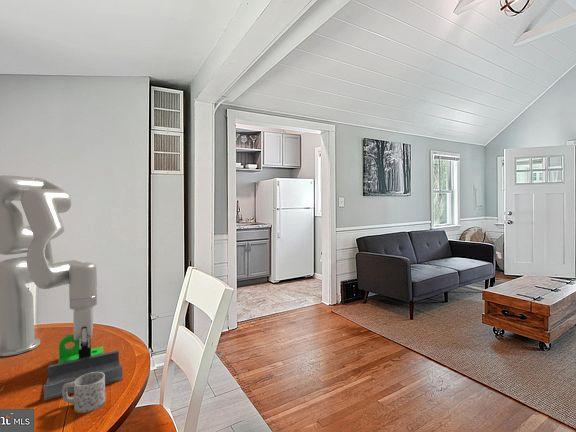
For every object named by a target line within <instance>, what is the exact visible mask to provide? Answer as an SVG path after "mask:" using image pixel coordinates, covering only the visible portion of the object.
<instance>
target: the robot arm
mask: <svg viewBox="0 0 576 432" xmlns="http://www.w3.org/2000/svg"><path fill="white" fill-rule="evenodd" d="M13 201H16V202H19V201H20V204H21V206H22V209H23V212H24V215H25V216H26V220H27V223H28V224H29V225H25V224H24V218H23V214H22V212H21V210H20V209H19V208H18V207H17V205H16V204H14V203H13ZM71 207H72V200H71V197H70V195H69V194H68V193H67V191H65V189H63V188H61V187H59V186H57V185H55V184H54V183H52V182H50V181H48V180H46V179H43V178H41V177H30V176H22V175H21V176H20V175H19V176H18V175H0V255H1V256H2V255H3V256H10V255H18V254H26V256H20V257H13V258H9V259H4V260H1V261H0V357H9V356H11V357H12V356H17V355H19V354H23V353H26V352H29V351H31V350H34V349H35V348H37V347H38V346H40V345H41V339H40V338H39V337H35V318H34V317H35V316H34V315H35V314H34V312H35V311H34V308H35V307H34V295H33V292H32V291H31V290H30V289H29V288H28V287H27V286H26V285H27V284H29V283H34V284H35V286H36V287H38V288H39V289H42V290H49V289H50V290H51V289H54V288H58V287H61V286H65V285H68V288H69V289H68V294H69V295H68V296H69V297H68V298H69V309H70V310H73V317H72V318H73V319H72V323H73V325H72V326H73V335H74V341H76V340H79V359H80V358H85V357H89V356H91V349H92V348H91V347H92V346H91V339H92V337H93V329H94V307H96V306H97V305H98V284H97V283H98V282H97V280H98V277H97V273H98V272H97V265H96V264H95V263H94V262H81V261H79V260H74V259H73V260H66V261H59V262H54V258H53V251H52V244H51V243H52V242H51V240H54V239H56V238H57V237H60V236H61V235H63V233H64V232H65V227H64V224H63V222H62V219H61V216H60V215H59V214H63V213H66V212H68V211H69V210H70V208H71Z"/></svg>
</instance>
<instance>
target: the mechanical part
mask: <svg viewBox="0 0 576 432" xmlns="http://www.w3.org/2000/svg"><path fill="white" fill-rule="evenodd" d="M68 343H73V344H74V345H73V346H72V347H70V348H69V347H66V345H67V344H68ZM103 353H104V346H98V347H93V348H91V356H94V355H98V354H103ZM58 355H59V356H58V363H62V362H67V361H71V360H76V359H79V340H76V341H74V334H68V335H66V336H64V337H63V338H62V339H61V340H60V342H59V345H58ZM58 363H57V364H58Z"/></svg>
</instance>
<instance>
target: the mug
mask: <svg viewBox="0 0 576 432" xmlns="http://www.w3.org/2000/svg"><path fill="white" fill-rule="evenodd" d="M68 387H72V388H74V393H73V397H71V396H69V394H67V388H68ZM61 397H62V400H63V402H66V403H69V404H73V406H74V407H73V409H74V411H75V412H76V414H87V413H91V412H94V411H96V410H98V409H100V408H101V407H103V406H104V405H105V403H106V384H105V374H104V373H102V372H92V373H87V374H84V375H82V376H80V377H78V378H77V379H76V380H75V381H73V382H69V383H65V384H64V385H63V390H62V396H61Z"/></svg>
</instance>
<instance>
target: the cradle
mask: <svg viewBox="0 0 576 432" xmlns="http://www.w3.org/2000/svg"><path fill="white" fill-rule="evenodd" d="M119 353H120V351H119V350H118V349H115V350H112V351H109V352H108V351H107V352H103V354H98V355H94V356H89V357H85V358H80V359H76V360H71V361H67V362H62V363H54V364H49V365H48V366H47V381H46V383H45V384H43V401H47V400H52V399H55V398H59V397H63V396H62V390H63V385H64V384H65V383H69V382H73V381H75V380H76V379H77V378H78V377H80V376H82V375H84V374H87V373H92V372H102V373H104V374H105V385H108V384H111V383H115V382H119V381H122V380H123V378H124V377H123V366H122V365H121V363H120V354H119ZM67 394H68V395H70V394H74V388H72V387H68V388H67Z"/></svg>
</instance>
